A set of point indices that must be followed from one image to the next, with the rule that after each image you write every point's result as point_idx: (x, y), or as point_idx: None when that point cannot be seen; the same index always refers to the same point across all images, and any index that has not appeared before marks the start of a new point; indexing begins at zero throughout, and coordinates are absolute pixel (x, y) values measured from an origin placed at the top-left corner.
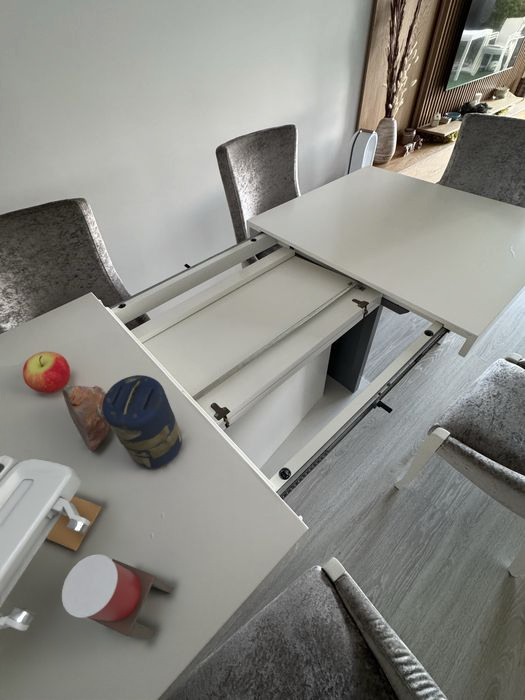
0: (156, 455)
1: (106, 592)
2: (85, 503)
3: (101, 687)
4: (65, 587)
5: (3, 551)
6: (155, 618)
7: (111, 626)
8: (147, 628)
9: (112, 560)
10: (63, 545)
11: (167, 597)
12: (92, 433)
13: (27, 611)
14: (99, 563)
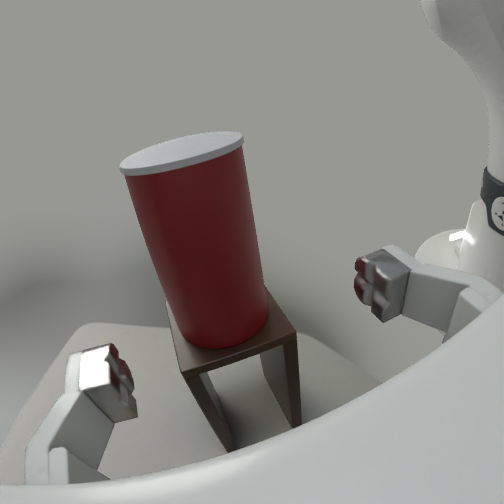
0: None
1: (175, 140)
2: None
3: (356, 373)
4: (213, 148)
5: (383, 471)
6: (253, 386)
7: (265, 290)
8: (264, 369)
9: (182, 368)
10: None
11: (222, 392)
12: None
13: (364, 273)
14: (137, 159)
